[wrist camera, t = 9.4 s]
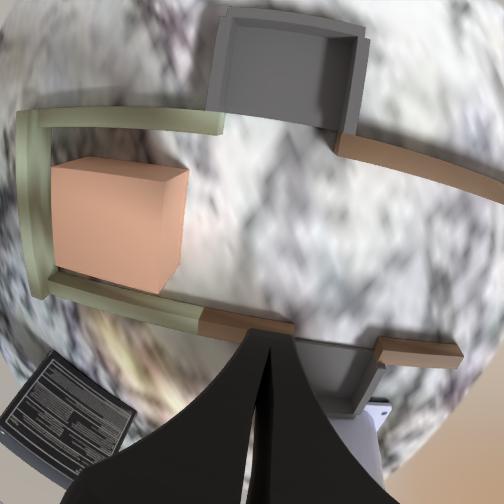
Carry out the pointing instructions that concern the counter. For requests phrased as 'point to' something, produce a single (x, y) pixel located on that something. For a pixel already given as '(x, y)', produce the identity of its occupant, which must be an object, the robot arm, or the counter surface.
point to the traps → (308, 113)
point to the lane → (178, 313)
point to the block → (118, 220)
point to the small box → (63, 421)
